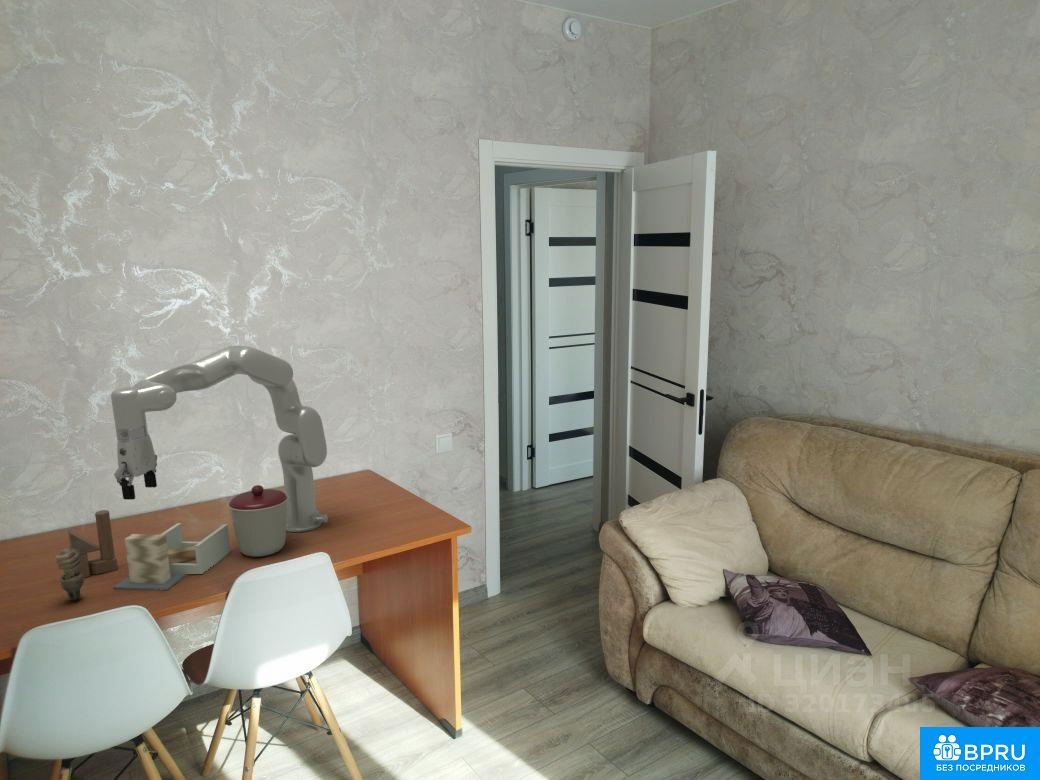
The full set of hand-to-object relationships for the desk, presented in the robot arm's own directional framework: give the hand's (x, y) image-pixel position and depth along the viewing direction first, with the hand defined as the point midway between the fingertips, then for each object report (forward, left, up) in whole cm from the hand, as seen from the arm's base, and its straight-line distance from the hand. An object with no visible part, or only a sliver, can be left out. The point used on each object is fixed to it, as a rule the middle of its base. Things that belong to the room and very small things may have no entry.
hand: (140, 492), depth 202 cm
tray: (-4, -15, -26) cm, 30 cm away
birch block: (0, 0, -26) cm, 26 cm away
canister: (-22, -24, -27) cm, 42 cm away
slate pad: (0, 0, -26) cm, 26 cm away
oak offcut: (-4, -9, -24) cm, 26 cm away
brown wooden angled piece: (+20, -5, -27) cm, 34 cm away
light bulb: (+14, +12, -27) cm, 33 cm away
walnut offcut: (-4, -8, -27) cm, 28 cm away
